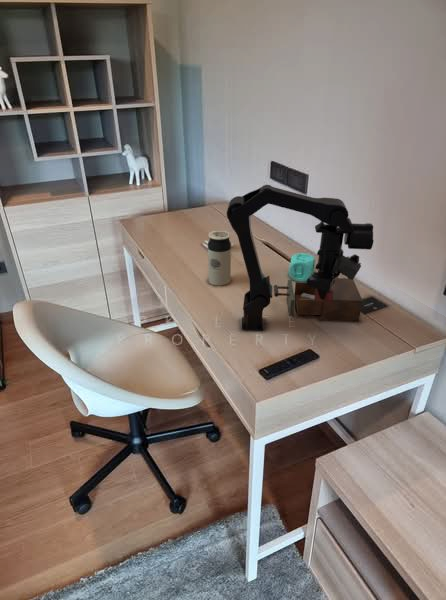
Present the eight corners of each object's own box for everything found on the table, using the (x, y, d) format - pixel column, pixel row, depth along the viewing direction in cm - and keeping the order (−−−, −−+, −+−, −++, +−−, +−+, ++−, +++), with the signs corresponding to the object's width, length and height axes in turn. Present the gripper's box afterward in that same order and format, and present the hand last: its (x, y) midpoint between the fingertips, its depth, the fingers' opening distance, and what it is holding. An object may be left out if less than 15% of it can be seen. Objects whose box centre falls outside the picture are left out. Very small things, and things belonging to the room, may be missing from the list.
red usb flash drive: (332, 300, 124) (334, 290, 122) (330, 303, 122) (332, 293, 120) (303, 293, 127) (304, 283, 126) (300, 296, 126) (302, 286, 124)
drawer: (273, 315, 134) (274, 299, 131) (272, 294, 145) (273, 279, 142) (323, 317, 133) (325, 300, 130) (317, 295, 144) (319, 280, 141)
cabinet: (320, 320, 133) (323, 299, 129) (314, 297, 145) (317, 277, 142) (358, 321, 132) (362, 300, 128) (349, 298, 145) (352, 278, 141)
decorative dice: (313, 274, 160) (316, 254, 156) (310, 283, 154) (312, 263, 150) (292, 271, 163) (294, 251, 159) (288, 280, 156) (289, 260, 152)
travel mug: (218, 274, 160) (218, 228, 151) (234, 280, 156) (235, 233, 147) (204, 281, 155) (203, 235, 146) (220, 288, 151) (220, 240, 142)
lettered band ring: (243, 251, 175) (237, 239, 171) (223, 265, 174) (217, 253, 169) (222, 236, 189) (216, 225, 185) (204, 249, 187) (198, 238, 183)
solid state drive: (387, 307, 141) (387, 305, 140) (365, 315, 136) (365, 313, 136) (371, 298, 146) (372, 296, 145) (349, 305, 142) (350, 303, 141)
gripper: (353, 266, 105) (343, 319, 113) (367, 240, 120) (358, 289, 127) (309, 257, 110) (303, 309, 117) (328, 233, 124) (321, 281, 132)
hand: (323, 297), depth 123 cm, fingers closed on red usb flash drive, 2 cm apart
